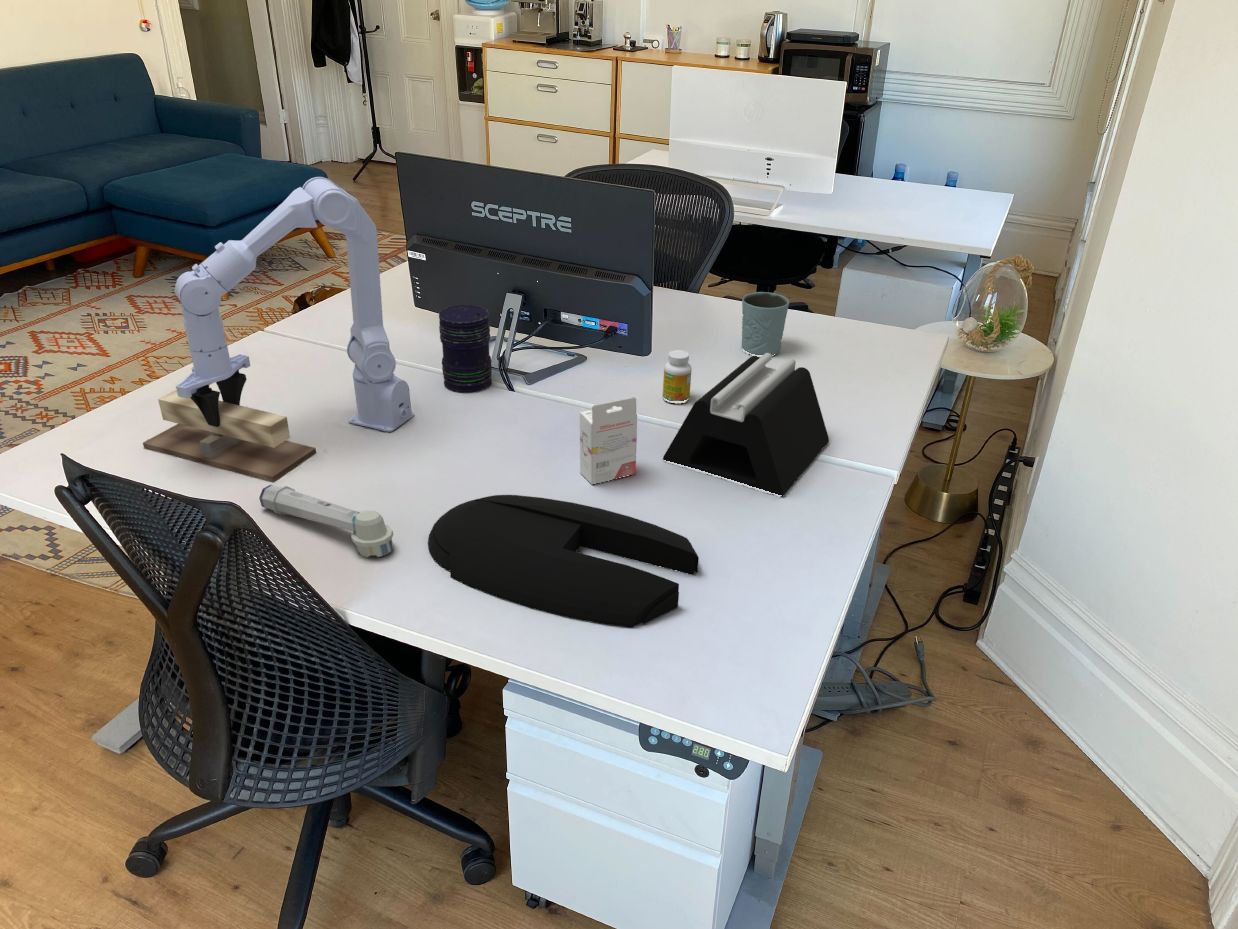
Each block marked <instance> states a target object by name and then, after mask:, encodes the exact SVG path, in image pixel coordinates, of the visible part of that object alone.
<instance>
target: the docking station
mask: <svg viewBox="0 0 1238 929" xmlns="http://www.w3.org/2000/svg"><path fill="white" fill-rule="evenodd" d="M427 540H428V541H427V547H428V552H429V554H430V556H431V557H432V559H433V560H434V561H435V562H436V563H437V564H438V565H439V566H441V567H442V568H443V569H445V570H447V571H449V573H450V575H449V576H450V578H451V579H454V580H456V581H458V582H460V583H462V584H464V585H466V586H468V587H471V588H473V589H475V590H479V591H481V592H483V593H485V594H487V595H488V594H489V595H490V596H493V597H496V598H498V599H501V600H504V601H507V602H511V603H513V604H517V605H519V606H523V607H526V608H529V609H533V610H537V611H541V612H545V613H549V614H551V615H552V614H553V615H556V616H561V617H565V618H569V619H575V620H580V621H583V622H591V623H595V624H601V625H605V626H606V625H607V626H612V627H613V626H615V627H621V628H631V629H632V628H635V627H637V626H639V625H641V624H643V625H645V624H648V623H649V622H652V621H654V620H656V619H658V618H660V617H662V616H664V615H667V614H668V613H670V612H672V611H674V610H676V609H678V608H679V599H680V598H679V596H680V591H679V590H680V589H679V588H680V583H679V582H675V581H672V580H670V579H669V578H665V577H663V576H660V575H657V574H654V573H651V572H648V571H646V570H643V569H640V568H637V567H634V566H631V565H628V564H623V563H620V562H616V561H614V560H608V559H604V558H601V557H597V556H593V555H589V554H586V553H581V552H578V550H579V549H580V548H581V547H582V548H585V549H589V550H593V551H595V552H596V551H597V552H601V553H605V554H609V555H612V556H616V557H620V558H624V557H625V559H627V560H628V559H629V560H632V561H635V560H636V561H637V562H640V563H643V562H644V563H645V564H647V563H648V564H647V565H652V566H655V565H656V566H655V567H659V566H661V567H660V568H663V567H664V568H663V569H667V570H671V569H672V570H671V571H675V570H677V571H676V572H678V571H680V572H679V573H682V572H683V573H682V574H686V573H688V574H687V575H690V576H695V573H698V569H699V561H700V560H699V559H700V558H699V555H698V553H697V552H696V550H695V549H694V546H693V545H692V543H691V541H690V540H689V539H688V538H687V537H685V536H684V535H682V534H678V533H676V532H675V531H671V530H669V529H666V528H664V527H662V526H659V525H656V524H653V523H650V522H647V521H645V520H642V519H638V518H635V517H632V516H630V515H625V514H623V513H618V512H615V511H610V510H607V509H604V508H599V507H594V506H589V505H585V504H581V503H576V502H571V501H566V500H564V501H563V500H560V499H559V500H558V499H552V498H547V497H546V498H545V497H538V496H531V495H530V496H529V495H520V494H518V495H517V494H494V495H489V496H484V497H481V498H476V499H472V500H469V501H468V500H467V501H465V502H463V503H459V504H458V505H455V506H453V507H451V508H450V509H449V510H447V511H446V512H444V513H443V514H442V515H441V516H440V517H439V518H438V519H437V520H436V521H435V523H434V524H433V526H432V527H431V530H430V533H429V535H428V538H427ZM636 561H635V562H636ZM644 563H643V564H644Z"/></svg>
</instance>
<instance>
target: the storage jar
mask: <svg viewBox="0 0 1238 929" xmlns="http://www.w3.org/2000/svg"><path fill="white" fill-rule="evenodd" d="M489 314H490V313H489V311H488V309H486V308H485V307H482V306H479V305H471V304H461V305H452V306H448V307H446V308H444V309H442V310H440V311H439V313H438V318H439V321H438V322H439V326H438V329H439V340H440V342H441V345H442V346H441V348H442V358H441V365H442V366H441V368H442V369H441V370H442V376H443V385H444V387H445V389H447V390H448V391H450V392H452V393H456V394H475V393H479V392H483V391H486V390H487V389H489V388H490V387H491V386H492V384H493V381H492V369H493V367H492V357H491V355H490V343H489V342H490V340H491V333H490V332H491V326H490V319H489Z"/></svg>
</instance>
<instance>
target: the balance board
mask: <svg viewBox="0 0 1238 929" xmlns="http://www.w3.org/2000/svg"><path fill="white" fill-rule="evenodd" d="M212 434H213V432H209V431H205V430H202V429H198V428H194V427H190V426H186V425H182V424H178V423H176V424H175V425H173V426H171V427H169V428H167V429H166V430H164V431H161V432H160V433H158V434H156V435H155V436H153V437H151V438H149V439H147V440H145V441H144V442H142V445H143V449H147V450H151V451H155V452H158V453H162V454H165V455H170V456H173V457H177V458H181V459H185V460H189V461H191V462H192V461H193V462H196V463H200V464H203V465H207V466H211V467H214V468H219V469H222V470H226V471H230V472H233V473H238V474H241V475H245V476H249V477H252V478H257V479H260V480H264V481H268V482H271V483H275V482H276V481H277V480H279V479H281V478H282V477H283V476H285V475H287V474H288V473H289V472H290V471H292V470H294V469H295V468H297V467H298V466H300V465H301V464H303V463H304V462H305V461H307V460H308V459H309V458H311V457H312V456H314V455H316V454H317V448H316V447H314V446H309V445H306V444H301V443H297V442H294V441H289V440H286V441H284V442H283V443H281V444H279V445H278V446H276V447H275V448H273V447H269V446H265V445H261V444H257V443H253V442H249V441H245V440H244V441H242V442H240V443H239V444H237V445H235V446H234V447H232V448H230V449H229V450H227V451H226V452H224V453H222V454H221V455H219V456H217V457H216V458H214V459H209V458H206V457H203V453H202V449H201V444H200V441H201V440H203V439H205V438H207V437H208V436H210V435H212Z"/></svg>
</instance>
